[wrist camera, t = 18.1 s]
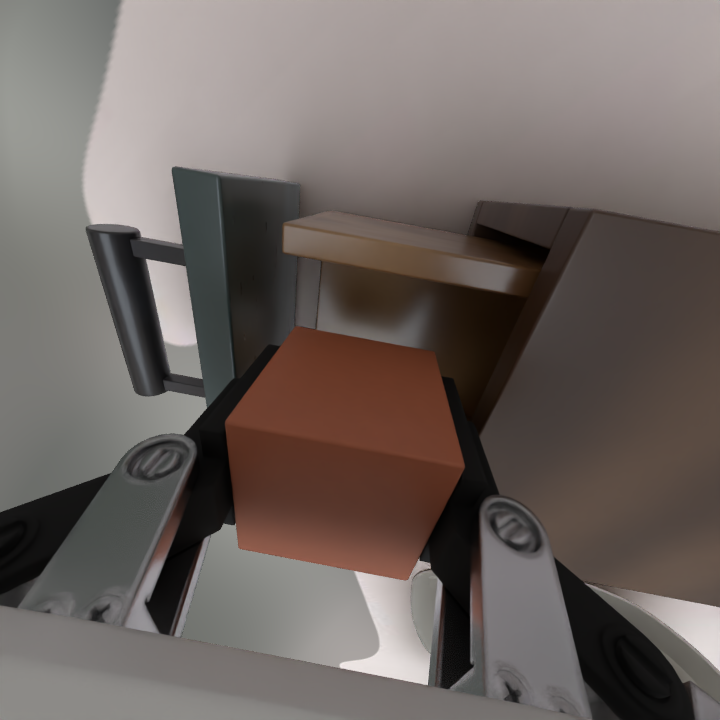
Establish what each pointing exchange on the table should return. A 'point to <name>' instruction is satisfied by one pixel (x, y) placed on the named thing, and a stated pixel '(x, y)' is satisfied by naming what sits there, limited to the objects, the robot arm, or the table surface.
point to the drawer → (336, 288)
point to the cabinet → (613, 396)
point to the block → (343, 453)
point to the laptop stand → (662, 636)
